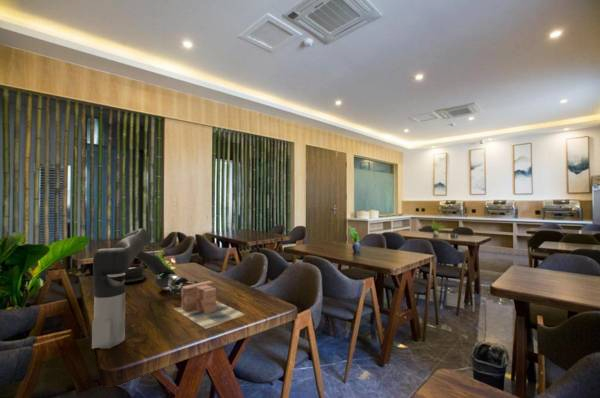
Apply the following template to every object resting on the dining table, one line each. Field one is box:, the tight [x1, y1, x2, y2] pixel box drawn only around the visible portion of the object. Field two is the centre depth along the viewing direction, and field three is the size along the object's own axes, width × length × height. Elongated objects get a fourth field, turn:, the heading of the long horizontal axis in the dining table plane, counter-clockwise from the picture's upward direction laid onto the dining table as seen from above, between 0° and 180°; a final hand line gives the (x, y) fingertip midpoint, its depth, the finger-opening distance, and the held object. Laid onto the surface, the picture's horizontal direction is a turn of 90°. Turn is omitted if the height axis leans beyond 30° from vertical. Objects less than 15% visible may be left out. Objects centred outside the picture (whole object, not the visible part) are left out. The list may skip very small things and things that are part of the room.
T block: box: [180, 280, 217, 314], centre depth 130 cm, size 14×14×10 cm
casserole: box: [124, 263, 147, 283], centre depth 178 cm, size 25×19×8 cm
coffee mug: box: [108, 273, 125, 284], centre depth 153 cm, size 12×9×10 cm
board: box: [174, 300, 246, 330], centre depth 126 cm, size 29×19×1 cm, turn 47°
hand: (192, 290), depth 137 cm, fingers open, 8 cm apart
